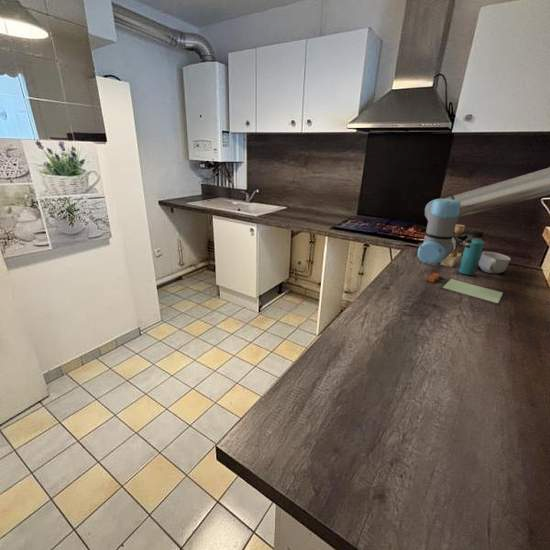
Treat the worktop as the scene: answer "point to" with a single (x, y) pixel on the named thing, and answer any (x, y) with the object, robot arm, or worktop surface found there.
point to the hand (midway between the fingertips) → (461, 232)
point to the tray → (473, 290)
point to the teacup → (493, 262)
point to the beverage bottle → (472, 255)
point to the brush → (455, 256)
